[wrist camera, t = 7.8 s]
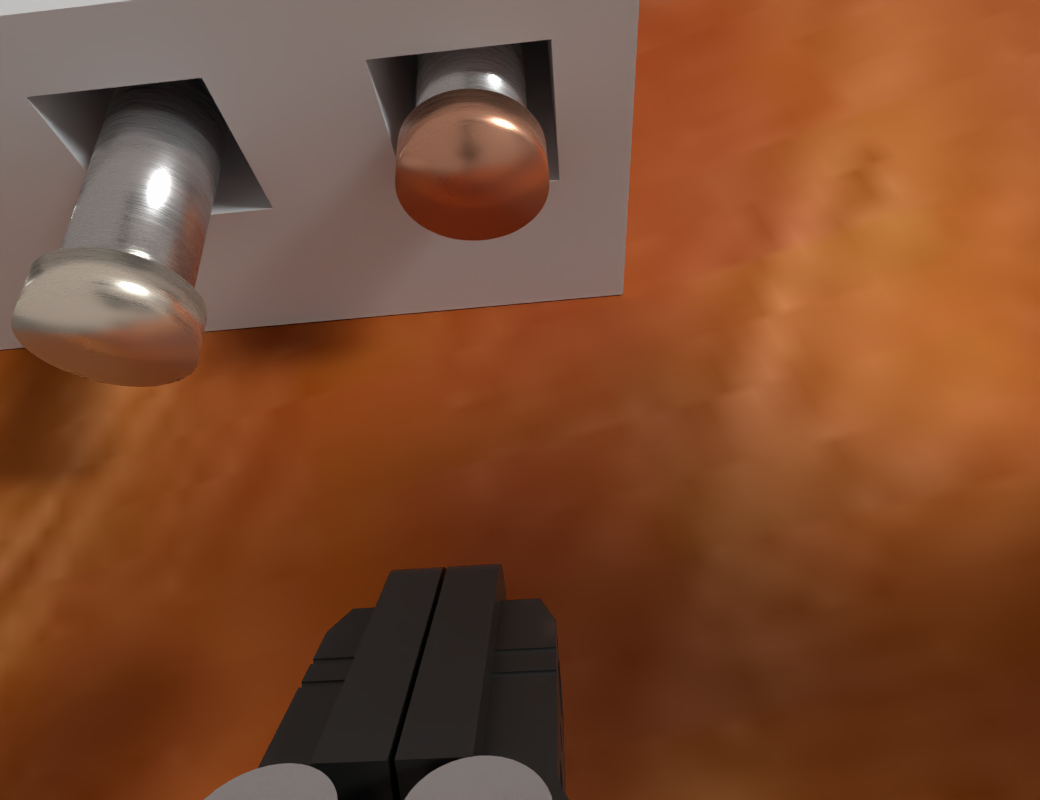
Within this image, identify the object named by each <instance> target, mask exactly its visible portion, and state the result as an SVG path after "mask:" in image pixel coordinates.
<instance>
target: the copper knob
mask: <svg viewBox="0 0 1040 800" xmlns="http://www.w3.org/2000/svg"><path fill="white" fill-rule="evenodd" d="M395 189H396V193H397V197H398V199H399V202H400V204H401V205H402V207H403V209H404V210H405V211H406V213H407V214H408V215H409V216H410V217H411V218H412V219H413V220H414V221H415V222H417V223H418V224H419V225H421V226H422V227H424V228H426V229H427V230H429V231H431V232H434V233H436V234H438V235H441V236H444V237H448V238H452V239H458V240H468V241H479V240H489V239H494V238H499V237H502V236H505V235H508V234H511V233H513V232H515V231H517V230H519V229H521V228H522V227H524V226H525V225H527V224H528V223H529V222H531V221H532V220H533V219H534V218H535V217H536V216H537V215H538V213H539V212H540V211H541V210H542V208H543V206H544V204H545V202H546V200H547V197H548V193H549V171H548V159H547V148H546V140H545V136H544V133H543V130H542V128H541V126H540V124H539V122H538V121H537V119H536V118H535V117H534V115H533V114H532V113H531V112H530V111H529V110H528V109H527V100H526V86H525V72H524V57H523V43H513V44H504V45H495V46H486V47H477V48H467V49H458V50H449V51H440V52H431V53H422V54H418V58H417V83H416V108H415V109H414V110H413V111H412V112H411V113H410V114H409V115H408V116H407V118H406V119H405V121H404V122H403V124H402V126H401V128H400V131H399V135H398V140H397V154H396V171H395Z"/></svg>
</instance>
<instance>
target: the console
mask: <svg viewBox="0 0 1040 800" xmlns="http://www.w3.org/2000/svg"><path fill="white" fill-rule="evenodd" d="M638 14H639V0H0V350H3V349H14V348H25V347H24V346H23V345H22V344H21V343H20V342H19V341H18V340H17V338H16V336H15V335H14V333H13V330H12V328H11V319H12V315H13V312H14V309H15V306H16V304H17V301H18V298H19V295H20V293H21V290H22V287H23V284H24V282H25V279H26V276H27V273H28V271H29V268H30V267H31V265H32V263H33V262H34V261H35V260H36V259H38V258H39V257H41V256H42V255H44V254H46V253H48V252H51V251H54V250H58V249H60V248H61V245H62V242H63V239H64V236H65V233H66V230H67V227H68V224H69V222H70V219H71V216H72V213H73V210H74V207H75V204H76V201H77V198H78V195H79V192H80V190H81V187H82V184H83V181H84V178H85V175H86V172H87V169H88V166H89V163H90V160H91V157H92V155H93V152H94V149H95V146H96V143H97V140H98V137H99V134H100V131H101V128H102V125H103V122H104V120H105V117H106V114H107V111H108V108H109V105H110V102H111V99H112V96H113V93H114V90H115V87H122V86H131V85H140V84H149V83H159V82H168V81H177V80H186V79H195V78H202V79H203V81H204V83H205V85H206V86H207V88H208V90H209V92H210V94H211V96H212V97H213V99H214V101H215V103H216V105H217V107H218V108H219V110H220V112H221V114H222V116H223V118H224V119H225V121H226V123H227V125H228V127H229V133H228V138H227V142H226V147H225V152H224V156H223V161H222V165H221V170H220V174H219V179H218V184H217V188H216V193H215V197H214V202H213V206H212V211H211V215H210V220H209V225H208V229H207V234H206V238H205V243H204V247H203V252H202V257H201V261H200V266H199V270H198V275H197V279H196V284H195V289H196V290H197V291H198V293H199V294H200V295H201V297H202V298H203V300H204V302H205V304H206V307H207V312H208V313H207V322H206V327H205V331H217V330H228V329H239V328H250V327H262V326H273V325H284V324H295V323H306V322H318V321H329V320H340V319H351V318H363V317H374V316H385V315H396V314H408V313H419V312H430V311H441V310H453V309H464V308H475V307H486V306H497V305H509V304H520V303H531V302H542V301H554V300H565V299H576V298H587V297H599V296H610V295H621V294H623V282H624V264H625V246H626V228H627V211H628V193H629V175H630V157H631V139H632V121H633V104H634V86H635V68H636V50H637V32H638ZM513 43H523V57H524V72H525V86H526V100H527V109H528V110H529V111H530V112H531V113H532V114H533V115H534V117H535V118H536V119H537V121H538V122H539V124H540V126H541V128H542V130H543V133H544V136H545V140H546V148H547V159H548V171H549V193H548V197H547V200H546V202H545V204H544V206H543V208H542V210H541V211H540V212H539V213H538V215H537V216H536V217H535V218H534V219H533V220H532V221H531V222H529V223H528V224H527V225H525V226H524V227H522V228H521V229H519V230H517V231H515V232H513V233H511V234H508V235H505V236H502V237H499V238H494V239H489V240H479V241H468V240H458V239H452V238H448V237H444V236H441V235H438V234H436V233H434V232H431V231H429V230H427V229H426V228H424V227H422V226H421V225H419V224H418V223H417V222H415V221H414V220H413V219H412V218H411V217H410V216H409V215H408V214H407V213H406V211H405V210H404V209H403V207H402V205H401V204H400V202H399V199H398V197H397V193H396V189H395V171H396V154H397V140H398V135H399V131H400V128H401V126H402V124H403V122H404V121H405V119H406V118H407V116H408V115H409V114H410V113H411V112H412V111H413V110H414V109H415V108H416V83H417V58H418V54H422V53H431V52H440V51H449V50H458V49H467V48H477V47H486V46H495V45H504V44H513Z"/></svg>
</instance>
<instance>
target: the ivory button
mask: <svg viewBox="0 0 1040 800" xmlns="http://www.w3.org/2000/svg"><path fill="white" fill-rule="evenodd" d="M228 133H229V127H228V125H227V123H226V121H225V119H224V118H223V116H222V114H221V112H220V110H219V108H218V107H217V105H216V103H215V101H214V99H213V97H212V96H211V94H210V92H209V90H208V88H207V86H206V85H205V83H204V81H203V79H202V78H195V79H186V80H177V81H168V82H159V83H149V84H140V85H131V86H122V87H115V90H114V93H113V96H112V99H111V102H110V105H109V108H108V111H107V114H106V117H105V120H104V122H103V125H102V128H101V131H100V134H99V137H98V140H97V143H96V146H95V149H94V152H93V155H92V157H91V160H90V163H89V166H88V169H87V172H86V175H85V178H84V181H83V184H82V187H81V190H80V192H79V195H78V198H77V201H76V204H75V207H74V210H73V213H72V216H71V219H70V222H69V224H68V227H67V230H66V233H65V236H64V239H63V242H62V245H61V248H60V249H58V250H54V251H51V252H48V253H46V254H44V255H42V256H41V257H39V258H38V259H36V260H35V261H34V262H33V263H32V265H31V267H30V268H29V271H28V273H27V276H26V279H25V282H24V284H23V287H22V290H21V293H20V295H19V298H18V301H17V304H16V306H15V309H14V312H13V315H12V319H11V328H12V330H13V333H14V335H15V336H16V338H17V340H18V341H19V342H20V343H21V344H22V345H23V346H24V347H25V348H26V349H27V350H28V351H29V352H31V353H32V354H33V355H35V356H36V357H38V358H39V359H41V360H43V361H44V362H46V363H48V364H50V365H52V366H54V367H56V368H58V369H60V370H63V371H65V372H68V373H70V374H73V375H76V376H79V377H82V378H86V379H89V380H93V381H97V382H102V383H107V384H114V385H121V386H136V387H146V386H158V385H165V384H170V383H173V382H176V381H179V380H181V379H184V378H185V377H187V376H188V375H190V374H191V373H192V372H193V371H194V370H195V368H196V367H197V365H198V361H199V356H200V351H201V347H202V342H203V337H204V332H205V327H206V322H207V313H208V312H207V307H206V304H205V302H204V300H203V298H202V297H201V295H200V294H199V293H198V291H197V290H196V289H195V284H196V279H197V275H198V270H199V266H200V261H201V257H202V252H203V247H204V243H205V238H206V234H207V229H208V225H209V220H210V215H211V211H212V206H213V202H214V197H215V193H216V188H217V184H218V179H219V174H220V170H221V165H222V161H223V156H224V152H225V147H226V142H227V138H228Z"/></svg>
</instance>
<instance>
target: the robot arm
mask: <svg viewBox="0 0 1040 800" xmlns="http://www.w3.org/2000/svg"><path fill="white" fill-rule="evenodd" d="M204 800H569V799H568V798H567V796H566V791H565V754H564V715H563V703H562V691H561V678H560V666H559V653H558V641H557V629H556V620H555V618H554V617H553V616H552V614H551V613H550V612H549V610H548V609H547V608H546V606H545V605H544V604H543V602H542V601H541V599H524V600H506V593H505V583H504V575H503V569H502V566H501V564H489V565H471V566H453V567H448V568H447V569H446V568H445V567H439V568H421V569H403V570H392V571H391V572H390V574H389V576H388V579H387V581H386V583H385V586H384V588H383V590H382V593H381V595H380V598H379V600H378V602H377V605H376V607H375V608H357V609H353V610H351V611H350V612H349V613H348V614H347V615H346V616H345V617H343V618H342V619H341V620H340V621H339V622H338V623H337V624H335V625H334V626H333V627H332V628H331V629H330V630H329V631H328V632H327V633H326V635H325V637H324V639H323V641H322V643H321V645H320V647H319V649H318V651H317V653H316V655H315V657H314V658H313V664H310V666H309V668H308V670H307V672H306V674H305V676H304V678H303V680H302V687H301V688H298V690H297V692H296V694H295V696H294V698H293V700H292V702H291V704H290V706H289V708H288V710H287V712H286V714H285V716H284V718H283V720H282V722H281V724H280V726H279V728H278V730H277V732H276V734H275V735H274V737H273V739H272V741H271V743H270V745H269V747H268V749H267V751H266V753H265V755H264V757H263V759H262V761H261V763H260V765H259V767H258V769H254V770H252V771H249V772H247V773H244V774H242V775H240V776H238V777H236V778H234V779H232V780H230V781H228V782H227V783H225V784H224V785H222V786H221V787H219V788H218V789H216V790H215V791H214V792H212V793H211V794H210V795H209V796H208V797H206V798H205V799H204Z"/></svg>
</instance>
